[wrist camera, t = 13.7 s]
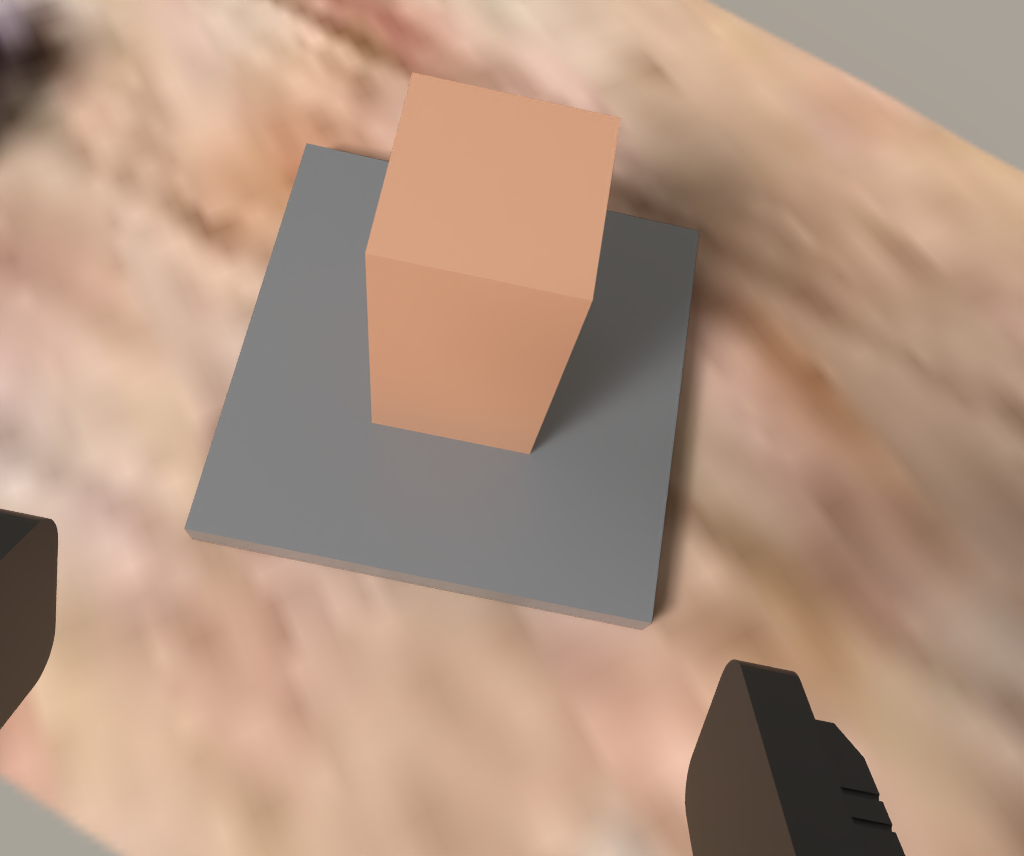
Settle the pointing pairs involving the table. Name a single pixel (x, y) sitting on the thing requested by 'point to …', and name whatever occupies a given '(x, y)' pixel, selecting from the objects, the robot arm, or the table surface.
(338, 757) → the table surface
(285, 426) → the slate tile
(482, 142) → the terracotta block
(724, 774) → the robot arm
